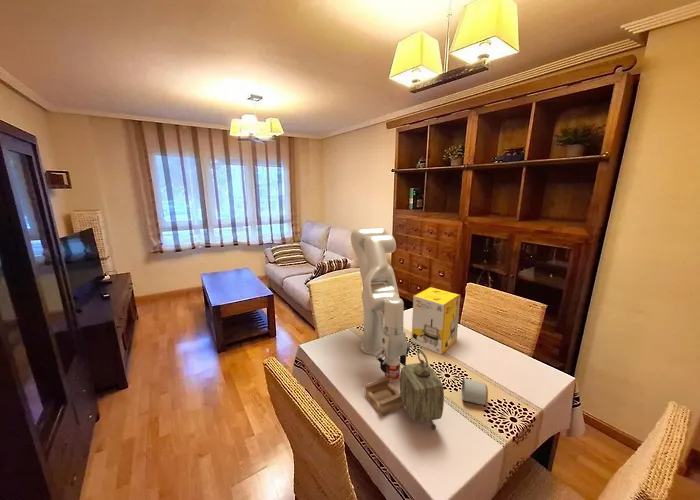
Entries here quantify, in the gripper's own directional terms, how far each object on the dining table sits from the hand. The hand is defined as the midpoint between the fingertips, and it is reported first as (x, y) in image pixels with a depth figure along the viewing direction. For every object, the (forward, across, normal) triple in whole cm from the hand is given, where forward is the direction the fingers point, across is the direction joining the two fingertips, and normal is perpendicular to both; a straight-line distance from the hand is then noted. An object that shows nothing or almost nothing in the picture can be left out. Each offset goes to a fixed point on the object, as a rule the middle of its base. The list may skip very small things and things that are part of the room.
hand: (393, 367), depth 114 cm
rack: (+6, -10, -8) cm, 14 cm away
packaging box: (+5, +35, +13) cm, 38 cm away
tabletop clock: (+6, -4, -20) cm, 21 cm away
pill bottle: (+6, 0, +1) cm, 6 cm away
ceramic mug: (+6, +20, -22) cm, 30 cm away
